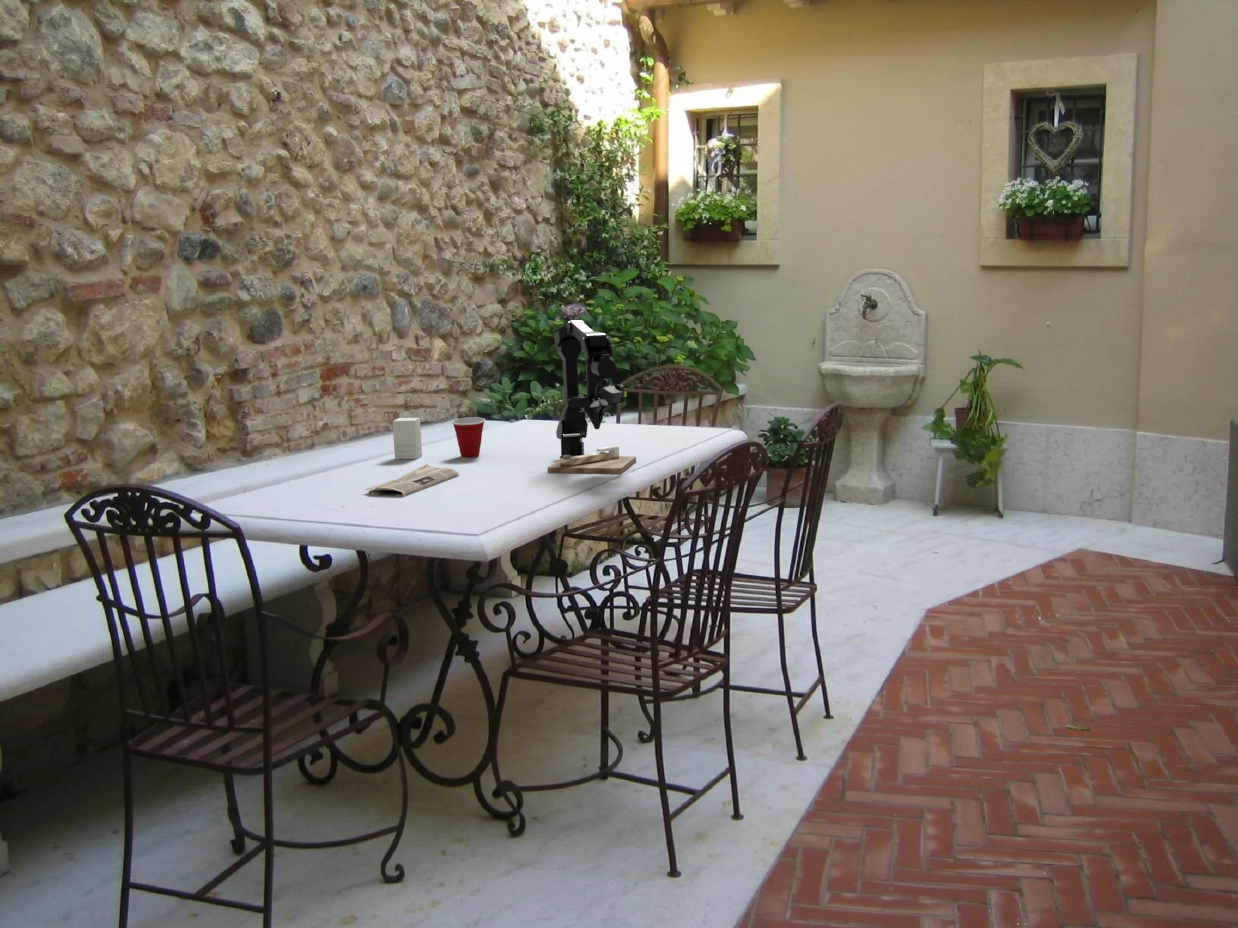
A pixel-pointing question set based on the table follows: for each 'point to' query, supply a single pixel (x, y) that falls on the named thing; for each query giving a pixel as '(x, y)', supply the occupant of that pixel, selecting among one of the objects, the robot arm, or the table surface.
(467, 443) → the plastic cup
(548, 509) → the table surface
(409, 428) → the supplement box
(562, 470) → the board
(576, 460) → the link
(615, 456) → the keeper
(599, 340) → the robot arm
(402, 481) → the newspaper
